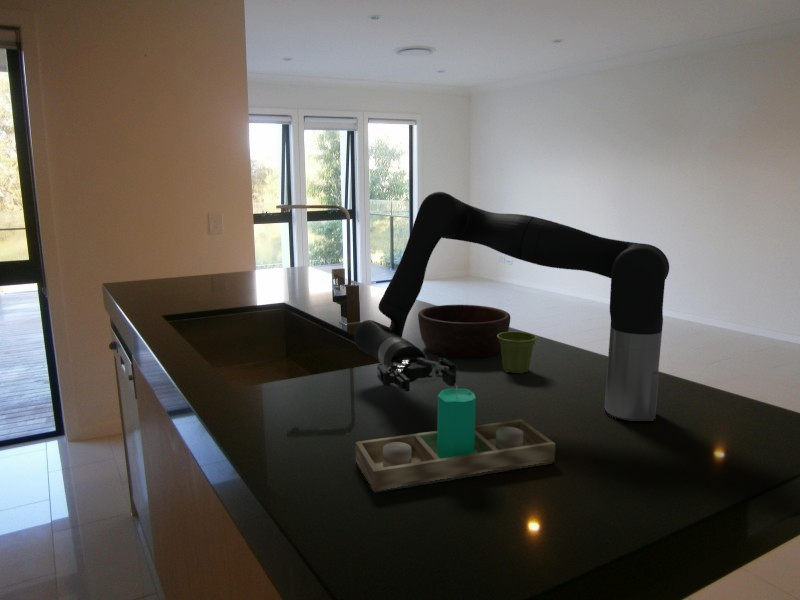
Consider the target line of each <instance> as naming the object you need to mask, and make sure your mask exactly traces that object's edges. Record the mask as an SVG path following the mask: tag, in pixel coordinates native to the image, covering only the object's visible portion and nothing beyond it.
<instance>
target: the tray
mask: <svg viewBox="0 0 800 600" xmlns="http://www.w3.org/2000/svg"><path fill="white" fill-rule="evenodd" d="M354 447H355V463H356V462H357V464H358V465H357V464H356V465H357V467H358V466H359V467H358V469H359V468H360V469H361V471H362V472H361V471H360V472H361V474H362V473H363V474H364V476H365V478H366V479H367V481H368V483H369V484H370V486H371V488H372V490H373V491H374V492H375V491H381V490H386V489H391V488H397V487H401V486H408V485H413V484H417V483H423V482H429V481H435V480H440V479H447V478H454V477H460V476H465V475H471V474H476V473H482V472H488V471H493V470H502V469H508V468H515V467H522V466H528V465H534V464H539V463H547V462H551V461H554V462H555V460H556V459H555V457H556V443H555V442H554V441H552V440H551V439H549V438H548V437H547V436H546V435H545V434H543V433H541V432H540V431H538V430H537V429H536V428H534V427H533V426H531V425H530V424H529V423H527V422H526V421H524V420H523V419H521V418H519V419H515V420H506V421H500V422H491V423H484V424H478V425H477V424H475V441H474V454H468V455H461V456H455V457H448V458H442V459H440V458H439V457H438V456H437V430H432V431H427V432H425V431H424V432H418V433H411V434H404V435H397V436H389V437H382V438H381V437H380V438H374V439H368V440H367V439H366V440H365V439H364V440H360V441H355V446H354ZM360 469H359V470H360ZM363 474H362V475H363ZM364 476H363V477H364ZM365 478H364V479H365ZM366 479H365V480H366ZM367 481H366V482H367ZM368 483H367V484H368ZM370 486H369V487H370ZM371 488H370V489H371ZM372 490H371V491H372ZM373 491H372V492H373Z"/></svg>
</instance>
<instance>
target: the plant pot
mask: <svg viewBox="0 0 800 600" xmlns="http://www.w3.org/2000/svg"><path fill="white" fill-rule="evenodd" d="M497 338H498V339H499V343H500V345H501V350H500V352H501V360H502V369H504V370H505V371H508V372H509V373H513V374H514V373H522V374H524V373H523V372H526V373H527V372H529V371H528V370H530V365H531V359H532V354H533V349H534V345H535V342H536V340H537V339H538V336H537V335H536V334H533V333H529V332H526V331H525V332H523V331H508V332H503V333H499V334H498V335H497ZM504 370H503V371H504ZM505 371H504V372H505ZM508 372H507V373H508Z"/></svg>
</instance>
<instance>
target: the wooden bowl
mask: <svg viewBox="0 0 800 600" xmlns="http://www.w3.org/2000/svg"><path fill="white" fill-rule="evenodd" d="M510 314H511V313H509V312H508V311H506V310H503V309H500V308H497V307H491V306H487V305H486V306H485V305H476V304H443V305H435V306H434V305H433V306H430V307H426V308H422V309H421V310H420V311H418V315H417V316H418V317H417V318H418V319H417V320H418V327H419V332H420V336H421V337H420V338H421V340H422V342H423V343H424V346H425V348H426V349H427V350H428V351H429V352H431V353H432V354H434V355H437V356H440V357H444V358H452V359H453V358H454V359H465V358H469V359H482V358H481V357H483V358H488V357H491V355H492V356H495V355H496V354H498V353H499V352H501V345H500V343H499V339H498V338H497V335H498V334H499V333H503V332H509V330H510V323H511V315H510ZM494 354H495V355H494ZM487 356H488V357H487Z"/></svg>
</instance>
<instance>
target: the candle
mask: <svg viewBox="0 0 800 600" xmlns="http://www.w3.org/2000/svg"><path fill="white" fill-rule="evenodd" d="M455 387H456V388H452V387H451V388H450V387H449V388H446V389H443V390H440V393H439V394H438V395H437V428H436V431H437V456H438V457H439V458H440V459H442V458H448V457H455V456H461V455H468V454H474V441H475V426H476V407H477V406H476V405H477V403H476V402H477V401H476V400H477V397H476V395H475V393H474V392H472V390H470V389H469V388H458V385H456V386H455Z"/></svg>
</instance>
